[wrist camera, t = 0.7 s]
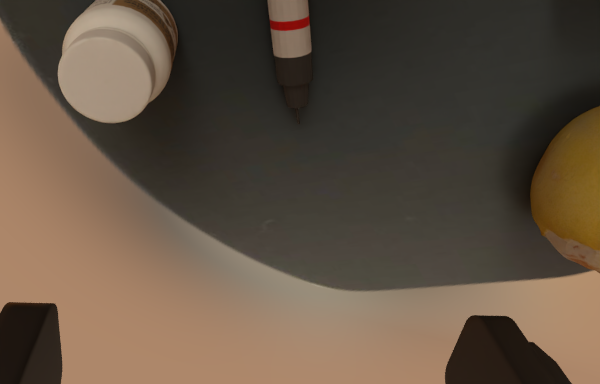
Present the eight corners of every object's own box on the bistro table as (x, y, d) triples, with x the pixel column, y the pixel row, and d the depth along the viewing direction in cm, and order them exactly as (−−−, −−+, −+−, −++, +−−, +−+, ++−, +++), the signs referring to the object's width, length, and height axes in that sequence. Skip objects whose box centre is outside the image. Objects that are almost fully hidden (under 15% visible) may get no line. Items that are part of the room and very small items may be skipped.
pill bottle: (195, 44, 27) (188, 97, 20) (128, 88, 27) (100, 154, 21) (140, -34, 24) (111, -2, 18) (69, 17, 25) (15, 65, 18)
